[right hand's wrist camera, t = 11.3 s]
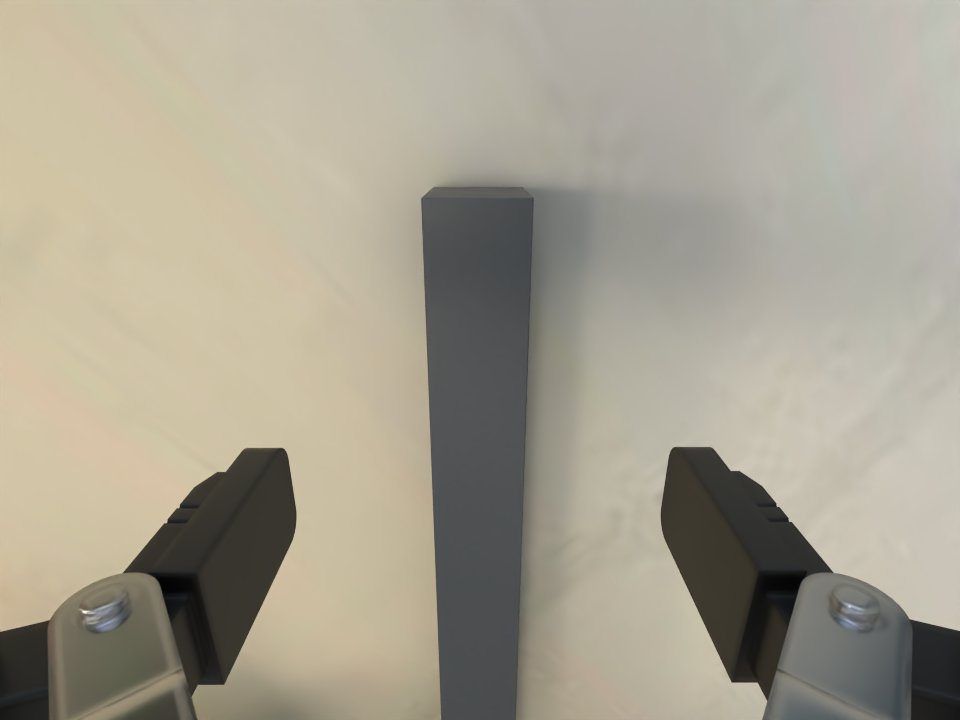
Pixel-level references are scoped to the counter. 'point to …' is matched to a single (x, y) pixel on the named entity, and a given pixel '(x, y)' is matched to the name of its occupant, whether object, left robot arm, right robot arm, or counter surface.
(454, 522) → the post
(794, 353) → the counter surface
